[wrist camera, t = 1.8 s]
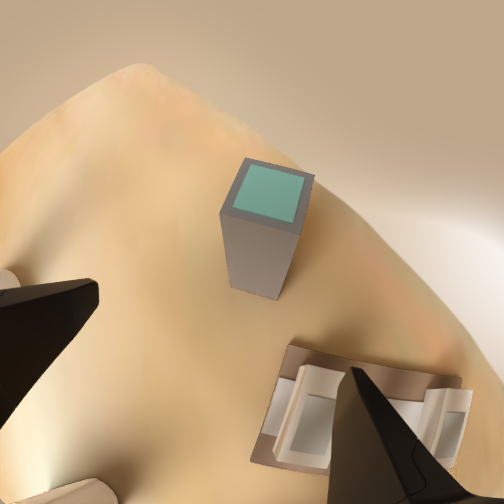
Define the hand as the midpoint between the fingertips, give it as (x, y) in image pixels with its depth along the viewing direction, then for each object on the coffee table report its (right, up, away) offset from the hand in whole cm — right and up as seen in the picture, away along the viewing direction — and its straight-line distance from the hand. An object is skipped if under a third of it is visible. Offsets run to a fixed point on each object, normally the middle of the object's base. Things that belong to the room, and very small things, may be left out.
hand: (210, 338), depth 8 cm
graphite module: (+2, +1, +16) cm, 16 cm away
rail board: (+11, -11, +10) cm, 19 cm away
